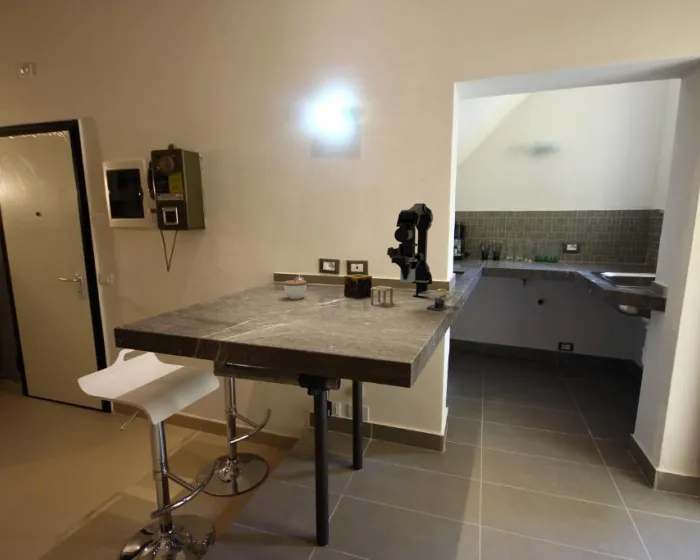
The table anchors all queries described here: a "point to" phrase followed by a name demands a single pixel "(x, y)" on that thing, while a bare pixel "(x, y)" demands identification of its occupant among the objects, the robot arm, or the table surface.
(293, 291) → the lidded jar
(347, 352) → the table surface
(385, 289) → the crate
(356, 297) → the candle
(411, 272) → the block
